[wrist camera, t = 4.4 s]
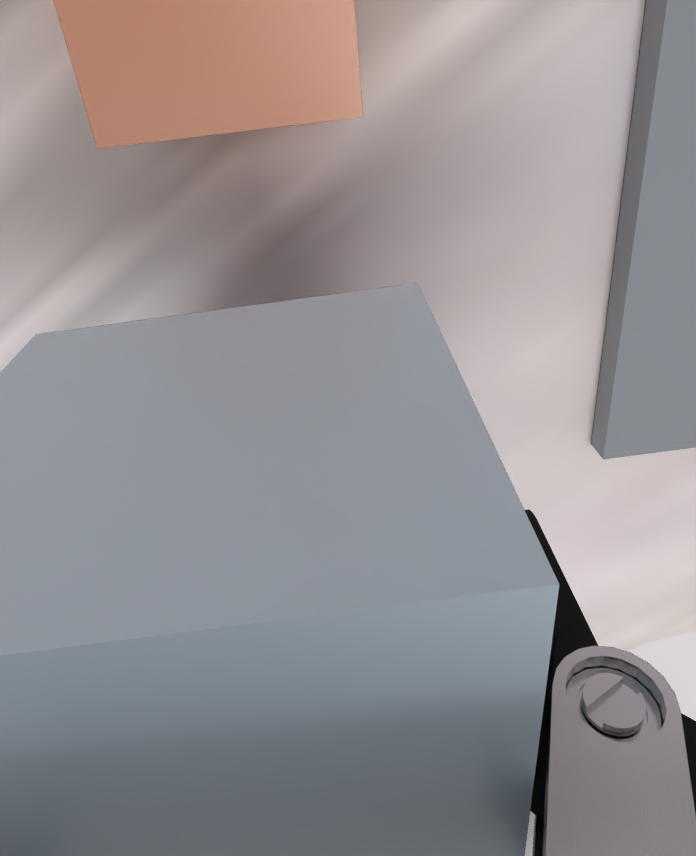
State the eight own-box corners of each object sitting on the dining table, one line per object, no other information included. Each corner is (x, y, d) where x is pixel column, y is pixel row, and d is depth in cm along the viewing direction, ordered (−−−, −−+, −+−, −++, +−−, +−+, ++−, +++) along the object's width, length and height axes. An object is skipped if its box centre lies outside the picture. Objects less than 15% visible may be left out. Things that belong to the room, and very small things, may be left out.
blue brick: (36, 334, 9) (-300, 693, 4) (417, 282, 9) (559, 585, 4) (179, 647, 13) (103, 1003, 8) (434, 615, 13) (511, 955, 8)
